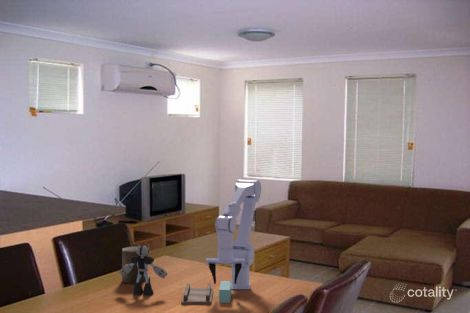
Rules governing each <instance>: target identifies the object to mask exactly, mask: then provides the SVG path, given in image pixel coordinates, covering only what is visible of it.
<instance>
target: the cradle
mask: <svg viewBox="0 0 470 313" xmlns="http://www.w3.org/2000/svg"><path fill="white" fill-rule="evenodd" d="M213 291H214V288H213V287H212V284H211V283H207V287H191V283H186V286H185V288H184V291H183V294H182V298H181V301H180V305H212V300H213Z"/></svg>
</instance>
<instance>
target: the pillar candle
mask: <svg viewBox="0 0 470 313" xmlns="http://www.w3.org/2000/svg"><path fill="white" fill-rule="evenodd" d="M136 249H138V246H134V245H133V246H127V247H123V248H122V249H121V269H122V268H123V267H124V266H125V265H126V264H131V263H132V262H131V258H132V257H133V256H139V255H138V254H136ZM140 257H141V256H140ZM135 275H136V278H137V276H138V267H137V263H136V264H134V265H133V266H132V269H131V271H130V272H129V273H127V274H126V275H124V276H122V275H121V280H122V281H121V282H122V283H124V284H128V285H135V282H136V279H135ZM141 278H142V279H140V280H141V282H140V283H141V284H142V283H145V280H144V275H142V276H141Z"/></svg>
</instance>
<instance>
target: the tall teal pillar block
mask: <svg viewBox="0 0 470 313" xmlns="http://www.w3.org/2000/svg"><path fill="white" fill-rule="evenodd" d="M231 281H232V280H221V281H220V285H219V289H218V303H220V304H221V303H222V304H223V303H224V304H230V302H231V298H232V289H231Z"/></svg>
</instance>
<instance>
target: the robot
mask: <svg viewBox="0 0 470 313" xmlns="http://www.w3.org/2000/svg"><path fill="white" fill-rule="evenodd" d="M140 244H141V242H140V241H138V244H137V247H138V249H136V254H138V255H139V256H133V257H132V258H131V262H132V263H131V264H126V265H125V266H124V267H123V268H122V267H121V269H120V270H119V273H120V275H121V277H122V276H124V275H126V274H127V273H129V272H130V271H131V269H132V266H133V265H134V264H136V263H137V267H138V276H137V278H136V275H135V279H136V282H135V284H133V285H134V286H133V290H132V291H133V292H132V293H133V295H135V296H139V295H143V296H144V297H145V296H146V297H147V296H152V295H154V290H153V287H152V284H151V276H149V274H148V272H149V270H148V269H149V268H148V266H151V267H152V269H153V271H154V273H155V274H156V275H157V276H158V277H160V278H161V279H165V277H167V275H168V272H167V271H166V270H165V269H164V268H163V267H162V266H160V265H155V264H153V263H154V261H155V258H154V257H151V256H149V254H150V242H148V244H147V245H145V244H142V245H140ZM140 256H141V257H140ZM142 275H144V280H145V281H144V283H145V284H144V287H143V285H142V283H140V282H141V280H140V279H142V278H141V276H142Z"/></svg>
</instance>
